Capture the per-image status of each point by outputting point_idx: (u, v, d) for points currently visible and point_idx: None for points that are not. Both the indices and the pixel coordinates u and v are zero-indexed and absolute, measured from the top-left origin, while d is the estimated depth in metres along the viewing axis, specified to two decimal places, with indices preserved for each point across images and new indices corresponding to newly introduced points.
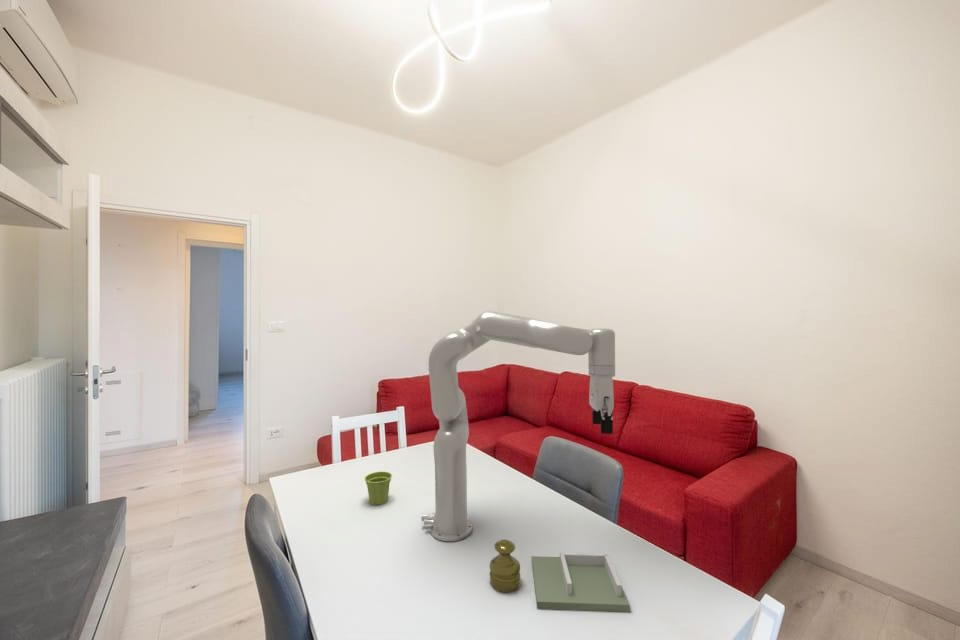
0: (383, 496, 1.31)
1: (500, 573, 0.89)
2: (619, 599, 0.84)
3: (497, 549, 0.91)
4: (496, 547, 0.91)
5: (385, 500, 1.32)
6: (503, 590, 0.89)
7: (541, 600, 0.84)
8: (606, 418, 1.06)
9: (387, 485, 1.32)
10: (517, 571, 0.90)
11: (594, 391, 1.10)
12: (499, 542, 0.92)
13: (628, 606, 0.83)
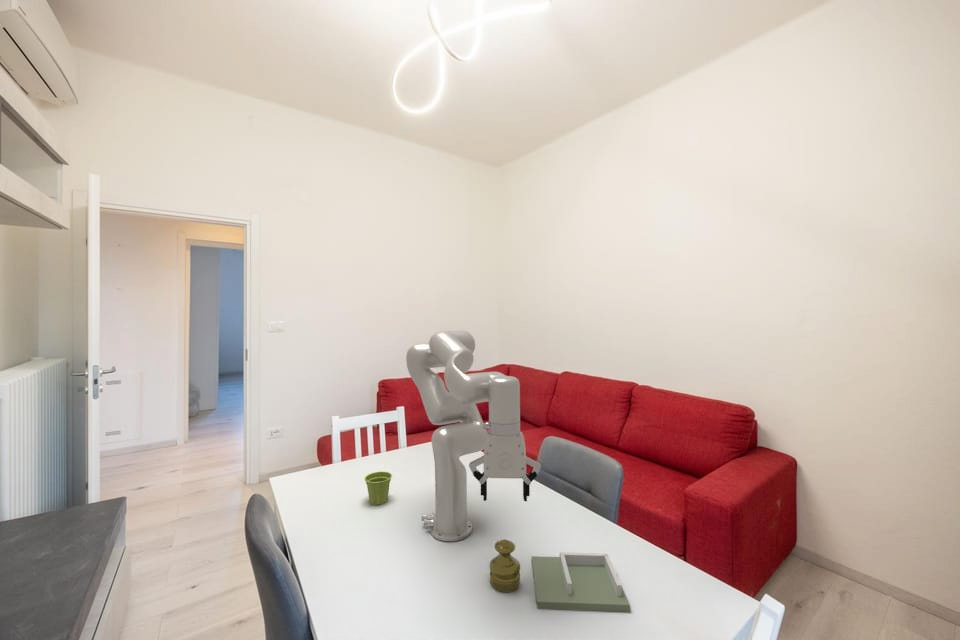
0: (383, 496, 1.31)
1: (500, 573, 0.89)
2: (619, 599, 0.84)
3: (497, 549, 0.91)
4: (496, 547, 0.91)
5: (385, 500, 1.32)
6: (503, 590, 0.89)
7: (541, 600, 0.84)
8: None
9: (387, 485, 1.32)
10: (517, 571, 0.90)
11: (515, 455, 0.89)
12: (499, 542, 0.92)
13: (628, 606, 0.83)
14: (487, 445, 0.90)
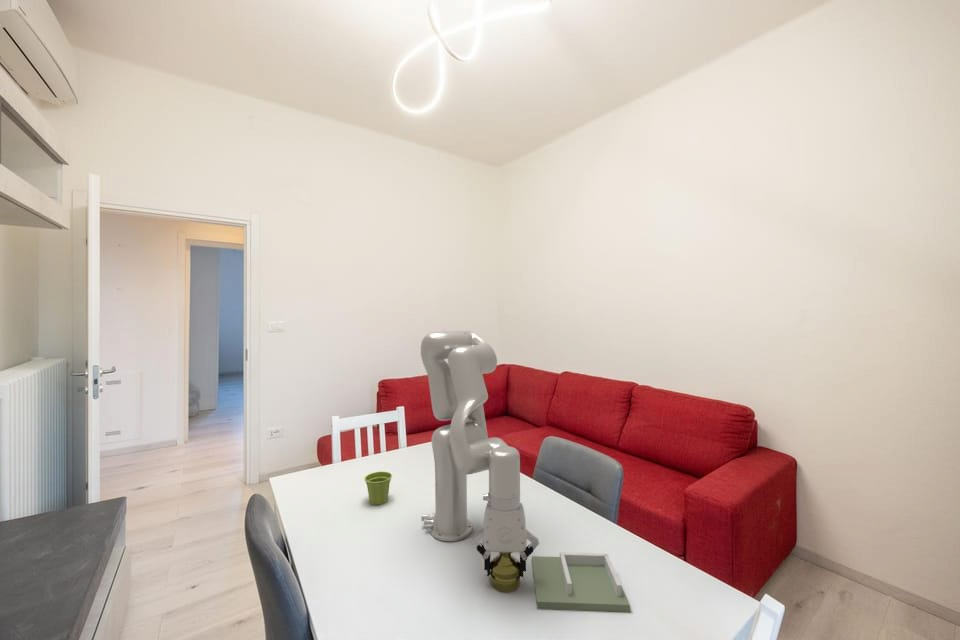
0: (383, 496, 1.31)
1: (500, 573, 0.89)
2: (619, 599, 0.84)
3: None
4: None
5: (385, 500, 1.32)
6: (503, 590, 0.89)
7: (541, 600, 0.84)
8: None
9: (387, 485, 1.32)
10: (517, 571, 0.90)
11: (515, 529, 0.89)
12: None
13: (628, 606, 0.83)
14: (487, 519, 0.90)
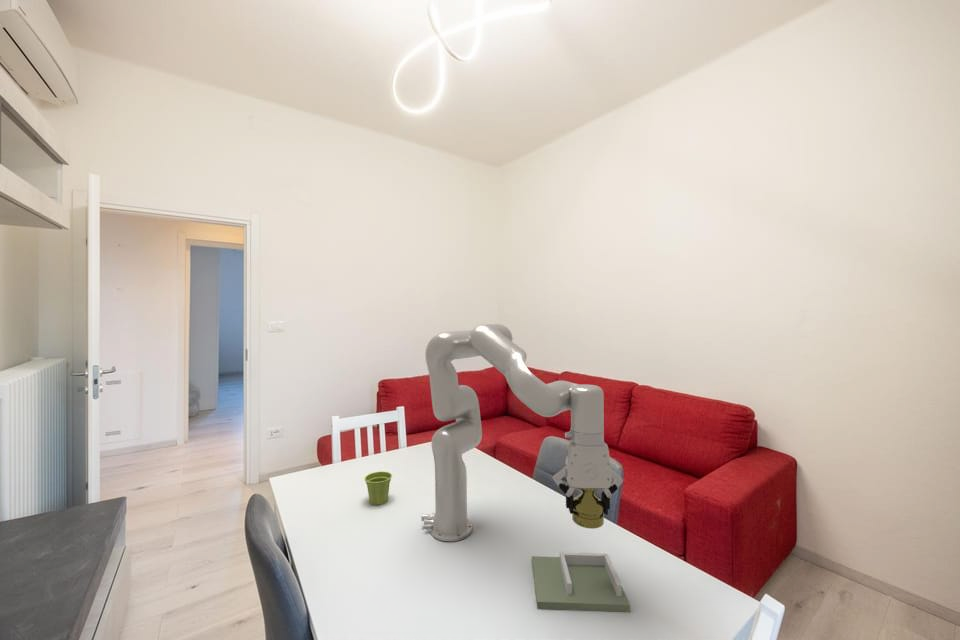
0: (383, 496, 1.31)
1: (586, 509, 0.88)
2: (619, 599, 0.84)
3: None
4: None
5: (385, 500, 1.32)
6: (589, 526, 0.87)
7: (541, 600, 0.84)
8: None
9: (387, 485, 1.32)
10: (602, 508, 0.89)
11: (600, 465, 0.88)
12: None
13: (628, 606, 0.83)
14: (572, 455, 0.89)
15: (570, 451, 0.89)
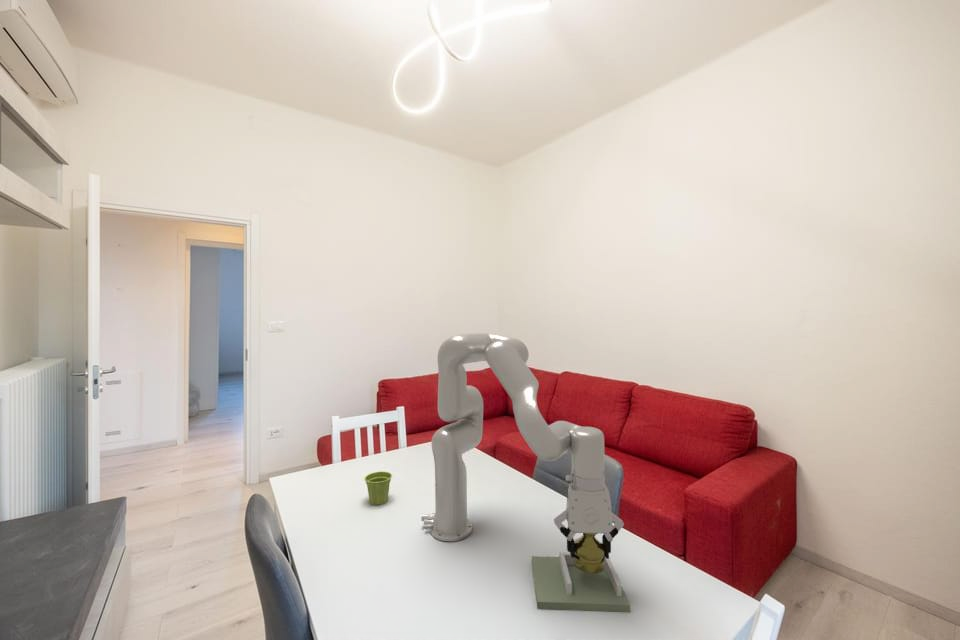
0: (383, 496, 1.31)
1: (587, 554, 0.88)
2: (619, 599, 0.84)
3: None
4: None
5: (385, 500, 1.32)
6: (590, 571, 0.87)
7: (541, 600, 0.84)
8: None
9: (387, 485, 1.32)
10: (603, 552, 0.89)
11: (601, 510, 0.88)
12: None
13: (628, 606, 0.83)
14: (572, 499, 0.89)
15: (571, 495, 0.89)
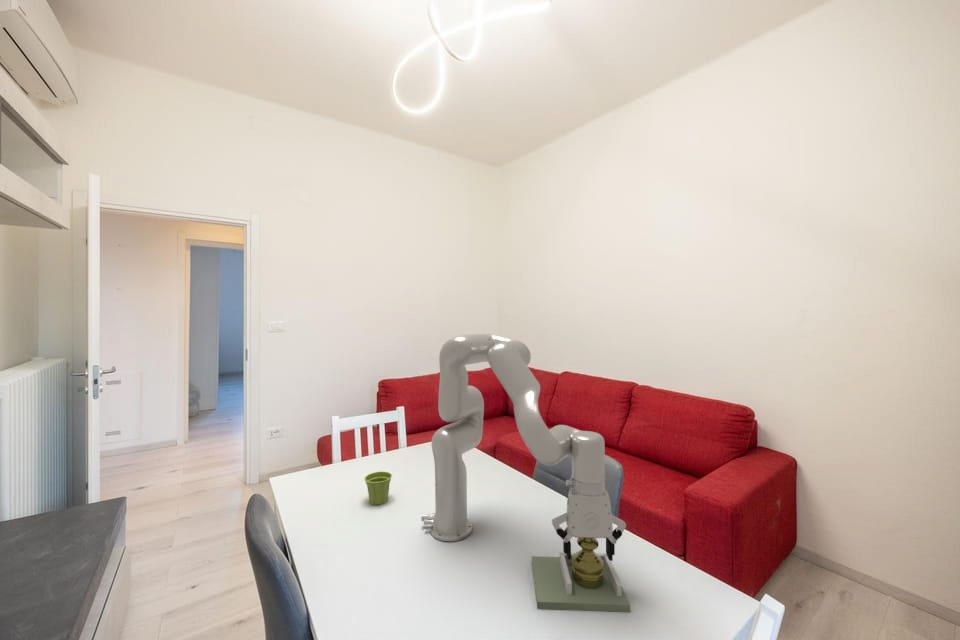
0: (383, 496, 1.31)
1: (586, 569, 0.88)
2: (619, 599, 0.84)
3: (581, 545, 0.89)
4: (580, 543, 0.90)
5: (385, 500, 1.32)
6: (589, 586, 0.87)
7: (541, 600, 0.84)
8: None
9: (387, 485, 1.32)
10: (602, 567, 0.89)
11: (601, 515, 0.88)
12: (582, 538, 0.91)
13: (628, 606, 0.83)
14: (573, 504, 0.89)
15: (571, 500, 0.89)
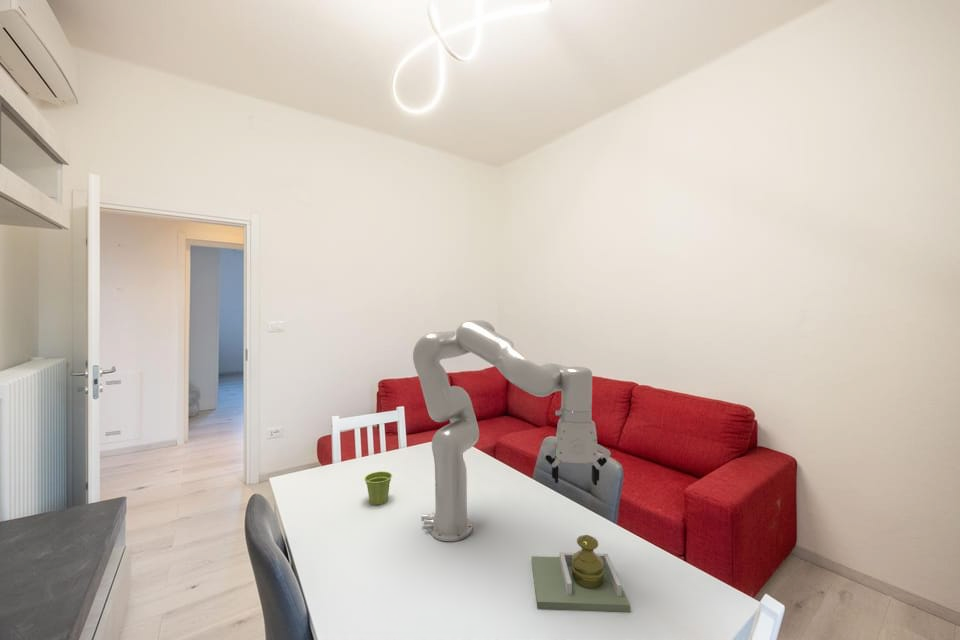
0: (383, 496, 1.31)
1: (586, 569, 0.88)
2: (619, 599, 0.84)
3: (581, 545, 0.89)
4: (580, 543, 0.90)
5: (385, 500, 1.32)
6: (589, 586, 0.87)
7: (541, 600, 0.84)
8: None
9: (387, 485, 1.32)
10: (602, 567, 0.89)
11: (587, 441, 0.95)
12: (581, 538, 0.91)
13: (628, 606, 0.83)
14: (561, 431, 0.95)
15: (559, 427, 0.96)
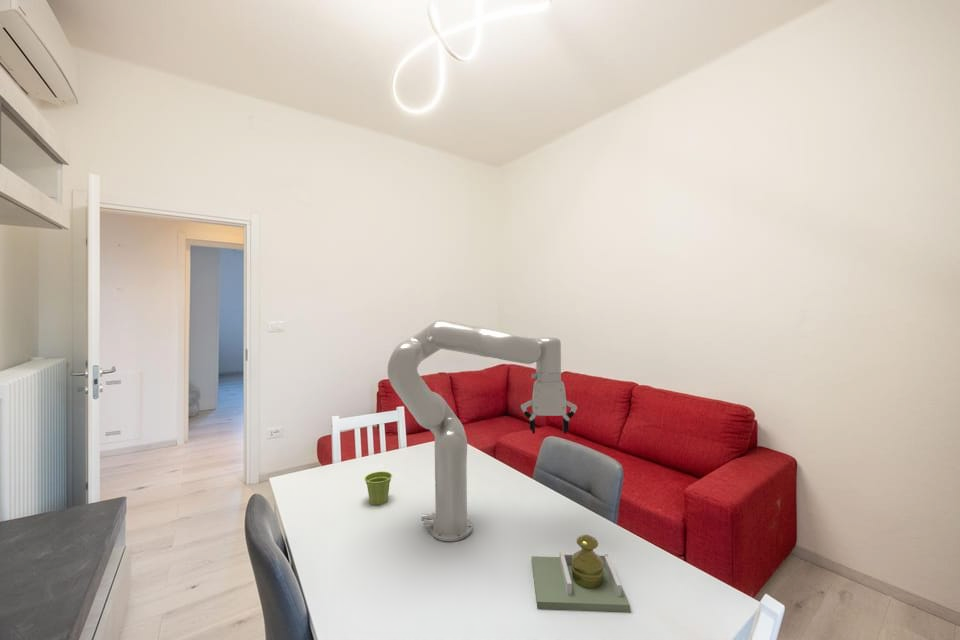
0: (383, 496, 1.31)
1: (586, 569, 0.88)
2: (619, 599, 0.84)
3: (581, 545, 0.90)
4: (579, 543, 0.90)
5: (385, 500, 1.32)
6: (589, 586, 0.88)
7: (541, 600, 0.84)
8: None
9: (387, 485, 1.32)
10: (602, 567, 0.89)
11: (558, 397, 1.15)
12: (581, 538, 0.91)
13: (628, 606, 0.83)
14: (536, 390, 1.16)
15: (535, 387, 1.16)
